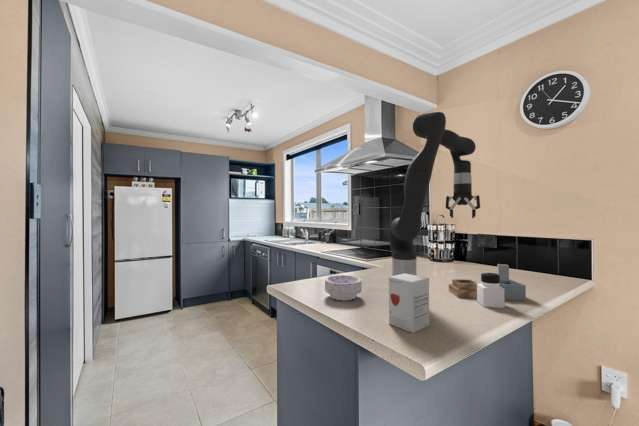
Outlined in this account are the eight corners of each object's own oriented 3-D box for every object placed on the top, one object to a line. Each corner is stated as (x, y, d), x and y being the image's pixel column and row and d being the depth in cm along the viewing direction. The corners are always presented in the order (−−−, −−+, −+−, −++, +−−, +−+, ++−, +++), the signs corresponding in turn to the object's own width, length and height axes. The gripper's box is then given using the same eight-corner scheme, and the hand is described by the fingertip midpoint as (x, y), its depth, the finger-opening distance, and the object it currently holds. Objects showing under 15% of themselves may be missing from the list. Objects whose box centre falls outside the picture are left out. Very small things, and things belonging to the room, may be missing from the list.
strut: (511, 295, 114) (510, 266, 114) (497, 294, 116) (497, 265, 116) (509, 292, 118) (508, 264, 118) (495, 291, 120) (495, 263, 120)
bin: (496, 299, 112) (496, 284, 112) (483, 291, 123) (483, 278, 123) (525, 300, 111) (525, 285, 111) (510, 292, 122) (509, 278, 122)
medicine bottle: (505, 308, 101) (504, 275, 101) (483, 307, 103) (483, 274, 103) (496, 302, 108) (496, 271, 108) (476, 301, 110) (476, 271, 110)
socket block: (457, 297, 115) (457, 284, 115) (448, 290, 125) (448, 278, 125) (482, 297, 114) (482, 284, 114) (472, 291, 124) (472, 279, 124)
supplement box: (387, 324, 87) (387, 276, 87) (405, 317, 93) (404, 272, 93) (413, 333, 80) (412, 281, 80) (430, 326, 85) (429, 277, 86)
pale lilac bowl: (338, 305, 105) (338, 284, 105) (318, 296, 118) (318, 277, 118) (369, 299, 113) (369, 280, 113) (347, 290, 126) (347, 273, 126)
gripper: (445, 183, 130) (445, 218, 129) (480, 181, 123) (480, 218, 123) (446, 184, 136) (446, 218, 136) (479, 183, 130) (479, 218, 129)
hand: (462, 218), depth 129 cm, fingers open, 8 cm apart
